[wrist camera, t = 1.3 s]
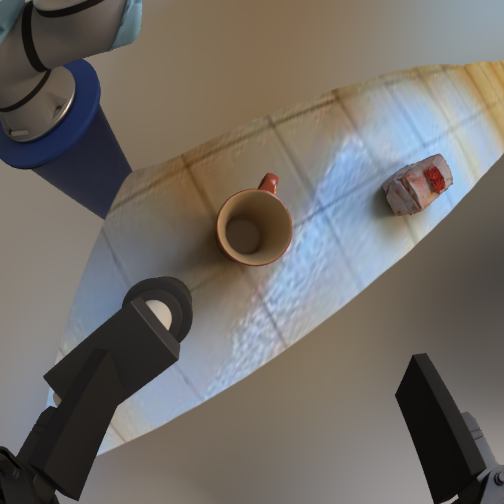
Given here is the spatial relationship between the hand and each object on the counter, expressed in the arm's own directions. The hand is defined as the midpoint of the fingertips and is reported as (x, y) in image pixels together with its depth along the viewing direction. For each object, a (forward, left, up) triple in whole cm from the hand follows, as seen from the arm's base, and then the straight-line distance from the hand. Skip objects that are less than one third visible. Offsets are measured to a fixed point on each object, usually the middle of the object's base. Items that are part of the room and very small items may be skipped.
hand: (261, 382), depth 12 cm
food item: (-9, +40, -31) cm, 51 cm away
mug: (-9, +8, -31) cm, 33 cm away
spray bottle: (-2, -7, -31) cm, 32 cm away
